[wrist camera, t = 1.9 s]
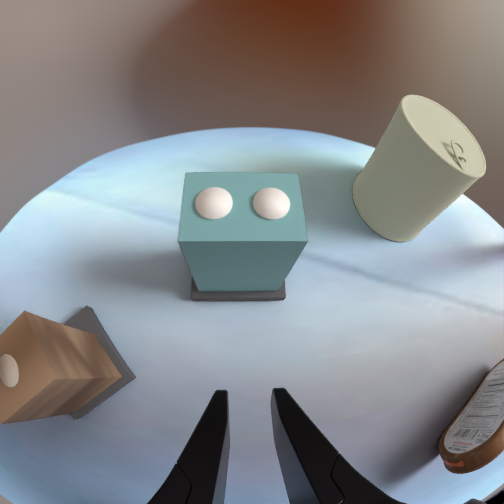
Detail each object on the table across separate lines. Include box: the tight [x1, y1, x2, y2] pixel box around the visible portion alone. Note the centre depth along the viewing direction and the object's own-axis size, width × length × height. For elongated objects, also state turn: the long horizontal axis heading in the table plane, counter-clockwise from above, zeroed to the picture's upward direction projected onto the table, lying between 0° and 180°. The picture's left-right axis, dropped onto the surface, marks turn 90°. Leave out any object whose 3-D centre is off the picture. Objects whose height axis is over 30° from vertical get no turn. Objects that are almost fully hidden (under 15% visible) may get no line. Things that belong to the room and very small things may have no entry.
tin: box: [439, 359, 504, 474], centre depth 14 cm, size 15×3×8 cm, turn 121°
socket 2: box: [191, 276, 286, 301], centre depth 23 cm, size 7×7×1 cm
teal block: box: [178, 172, 308, 292], centre depth 17 cm, size 4×6×9 cm, turn 92°
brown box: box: [0, 311, 122, 424], centre depth 13 cm, size 4×6×9 cm, turn 131°
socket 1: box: [64, 306, 136, 420], centre depth 18 cm, size 7×7×1 cm
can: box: [352, 95, 486, 242], centre depth 21 cm, size 9×9×12 cm
